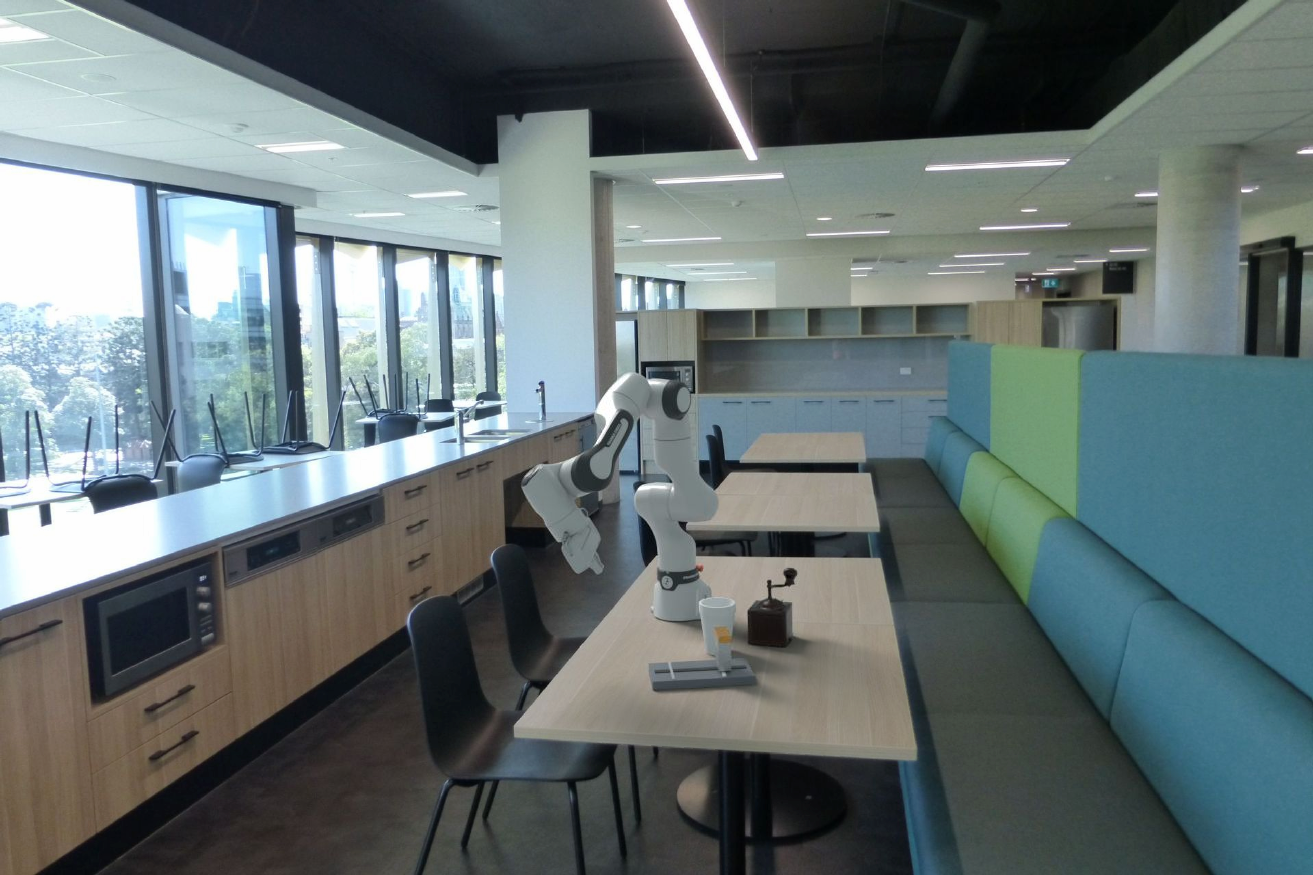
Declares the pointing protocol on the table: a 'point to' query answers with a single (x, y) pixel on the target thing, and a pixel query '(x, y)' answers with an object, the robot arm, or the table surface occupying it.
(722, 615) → the foam cup
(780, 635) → the manual coffee grinder
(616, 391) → the robot arm
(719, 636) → the plate
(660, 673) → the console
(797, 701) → the table surface
